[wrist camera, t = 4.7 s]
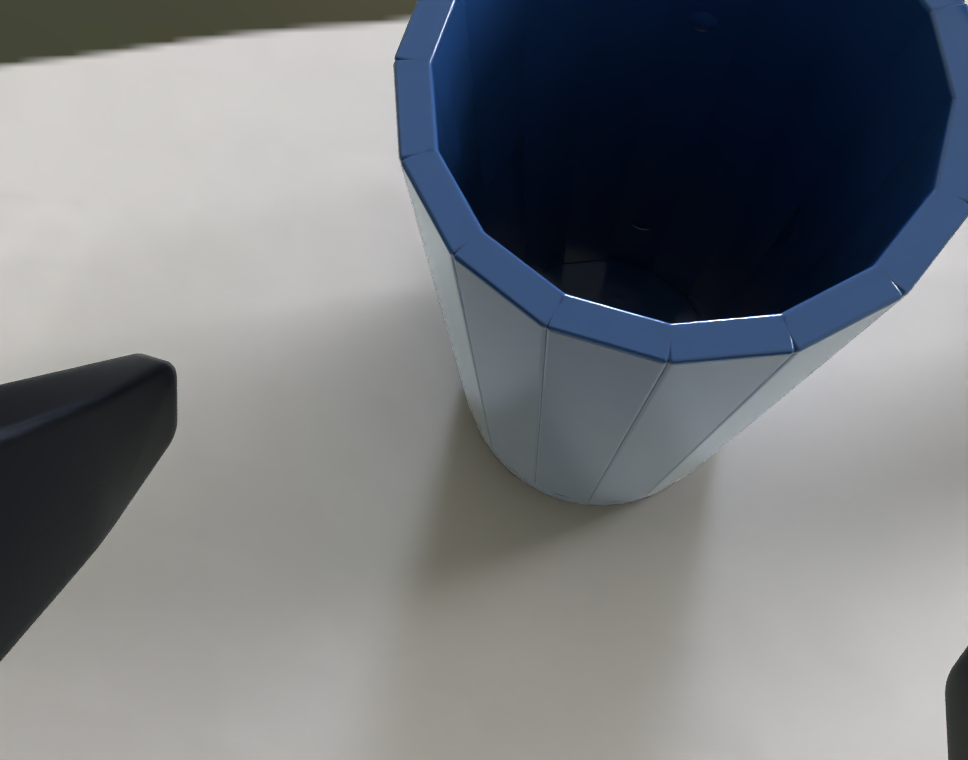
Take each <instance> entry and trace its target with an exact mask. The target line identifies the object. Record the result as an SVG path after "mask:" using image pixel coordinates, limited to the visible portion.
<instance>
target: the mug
mask: <svg viewBox="0 0 968 760" xmlns="http://www.w3.org/2000/svg"><path fill="white" fill-rule="evenodd" d="M964 2H965V1H964V0H417V3H416V5H415V8H414V10H413V13H412V15H411V18H410V20H409V23H408V25H407V28H406V30H405V33H404V35H403V38H402V40H401V43H400V45H399V48H398V50H397V53H396V55H395V62H394V65H393V68H394V85H395V102H396V119H397V136H398V153H399V160H400V164H401V167H402V171H403V174H404V178H405V181H406V185H407V188H408V192H409V196H410V199H411V203H412V206H413V210H414V213H415V217H416V221H417V224H418V228H419V231H420V235H421V238H422V242H423V246H424V249H425V253H426V256H427V260H428V263H429V267H430V271H431V274H432V278H433V281H434V285H435V288H436V292H437V296H438V299H439V303H440V306H441V310H442V313H443V317H444V321H445V324H446V328H447V331H448V335H449V338H450V342H451V345H452V349H453V353H454V356H455V360H456V363H457V367H458V370H459V374H460V378H461V381H462V385H463V388H464V392H465V395H466V399H467V403H468V406H469V408H470V410H471V412H472V414H473V416H474V418H475V421H476V423H477V426H478V428H479V430H480V432H481V435H482V436H483V438H484V440H485V441H486V443H487V445H488V446H489V448H490V449H491V451H492V452H493V453H494V454H495V456H496V457H497V458H498V459H499V460H500V462H501V463H502V464H503V465H504V466H505V467H506V468H508V469H509V470H510V471H511V472H512V473H513V474H514V475H515V476H517V477H518V478H519V479H521V480H522V481H524V482H525V483H526V484H528V485H530V486H531V487H533V488H535V489H537V490H539V491H541V492H542V493H545V494H547V495H550V496H552V497H555V498H558V499H561V500H565V501H569V502H573V503H577V504H586V505H616V504H622V503H629V502H633V501H636V500H639V499H643V498H646V497H649V496H651V495H653V494H655V493H658V492H660V491H662V490H664V489H665V488H667V487H669V486H670V485H672V484H673V483H675V482H677V481H678V480H679V479H681V478H683V477H685V476H687V475H689V474H690V473H692V472H693V471H694V470H695V469H696V468H698V467H699V466H700V465H701V464H703V463H704V462H705V461H706V460H707V459H709V458H710V457H711V456H712V455H713V454H715V453H716V452H717V451H718V450H719V449H721V448H722V447H723V446H724V445H726V444H727V443H728V442H729V441H730V440H732V439H733V438H734V437H735V436H736V435H738V434H739V433H740V432H741V431H742V430H744V429H745V428H746V427H747V426H749V425H750V424H751V423H752V422H753V421H755V420H756V419H757V418H758V417H759V416H761V415H762V414H763V413H764V412H765V411H767V410H768V409H769V408H770V407H772V406H773V405H774V404H775V403H776V402H778V401H779V400H780V399H781V398H782V397H784V396H785V395H786V394H787V393H788V392H790V391H791V390H792V389H793V388H795V387H796V386H797V385H798V384H799V383H801V382H802V381H803V380H804V379H805V378H807V377H808V376H809V375H810V374H811V373H813V372H814V371H815V370H816V369H818V368H819V367H820V366H821V365H822V364H824V363H825V362H826V361H827V360H828V359H830V358H831V357H832V356H833V355H835V354H836V353H837V352H838V351H839V350H841V349H842V348H843V347H844V346H845V345H847V344H848V343H849V342H850V341H851V340H853V339H854V338H855V337H856V336H858V335H859V334H860V333H861V332H862V331H864V330H865V329H866V328H867V327H868V326H870V325H871V324H872V323H873V322H874V321H876V320H877V319H878V318H879V317H881V316H882V315H883V314H884V313H885V312H887V311H888V310H889V309H890V308H891V307H893V306H894V305H895V304H896V303H897V302H899V301H900V300H901V299H902V298H904V297H905V296H906V295H907V294H908V293H909V292H910V291H911V289H912V288H913V287H914V285H915V284H916V283H917V282H918V280H919V279H920V278H921V276H922V275H923V274H924V272H925V271H926V270H927V269H928V267H929V266H930V265H931V263H932V262H933V261H934V260H935V258H936V257H937V256H938V254H939V253H940V252H941V251H942V249H943V248H944V247H945V245H946V244H947V243H948V241H949V240H950V239H951V238H952V236H953V235H954V234H955V232H956V231H957V230H958V229H959V227H960V226H961V225H962V223H963V222H964V221H965V220H966V218H967V217H968V5H967V4H965V3H964Z"/></svg>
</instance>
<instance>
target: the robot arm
mask: <svg viewBox="0 0 968 760" xmlns="http://www.w3.org/2000/svg"><path fill="white" fill-rule="evenodd" d="M176 427H177V374H176V370H175V367H174V366H173V365H172V364H171V363H170V362H168V361H164V360H161V359H158V358H155V357H152V356H148V355H145V354H132V355H128V356H124V357H119V358H115V359H111V360H106V361H102V362H97V363H93V364H89V365H84V366H80V367H76V368H71V369H67V370H63V371H58V372H54V373H50V374H45V375H41V376H37V377H32V378H28V379H23V380H19V381H15V382H10V383H6V384H2V385H0V661H1V660H2V659H3V658H4V657H5V655H6V654H7V653H8V652H9V651H10V650H11V649H12V647H13V646H14V645H15V644H16V643H17V642H18V640H19V639H20V638H21V637H22V636H23V635H24V633H25V632H26V631H27V630H28V629H29V628H30V626H31V625H32V624H33V623H34V622H35V621H36V619H37V618H38V617H39V616H40V615H41V614H42V612H43V611H44V610H45V609H46V608H47V607H48V605H49V604H50V603H51V602H52V601H53V600H54V598H55V597H56V596H57V595H58V594H59V593H60V592H61V590H62V589H63V588H64V587H65V586H66V585H67V583H68V582H69V581H70V580H71V579H72V578H73V576H74V575H75V574H76V573H77V572H78V571H79V569H80V568H81V567H82V566H83V565H84V564H85V562H86V561H87V560H88V559H89V558H90V556H91V555H92V554H93V553H94V552H95V550H96V549H97V548H98V547H99V545H100V544H101V543H102V542H103V540H104V539H105V537H106V536H107V535H108V533H109V532H110V531H111V529H112V528H113V526H114V525H115V524H116V522H117V521H118V519H119V518H120V516H121V515H122V513H123V512H124V510H125V509H126V507H127V506H128V505H129V503H130V502H131V500H132V499H133V497H134V496H135V494H136V493H137V491H138V490H139V488H140V487H141V486H142V484H143V483H144V481H145V480H146V478H147V477H148V475H149V474H150V472H151V471H152V469H153V468H154V467H155V465H156V464H157V462H158V461H159V459H160V458H161V456H162V455H163V453H164V452H165V450H166V449H167V448H168V446H169V445H170V443H171V441H172V439H173V437H174V434H175V431H176ZM945 702H946V722H947V743H948V760H968V646H967V648H966V649H965V651H964V652H963V653H962V655H961V656H960V658H959V659H958V660H957V662H956V663H955V665H954V666H953V667H952V669H951V671H950V673H949V675H948V678H947V682H946V688H945Z"/></svg>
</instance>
